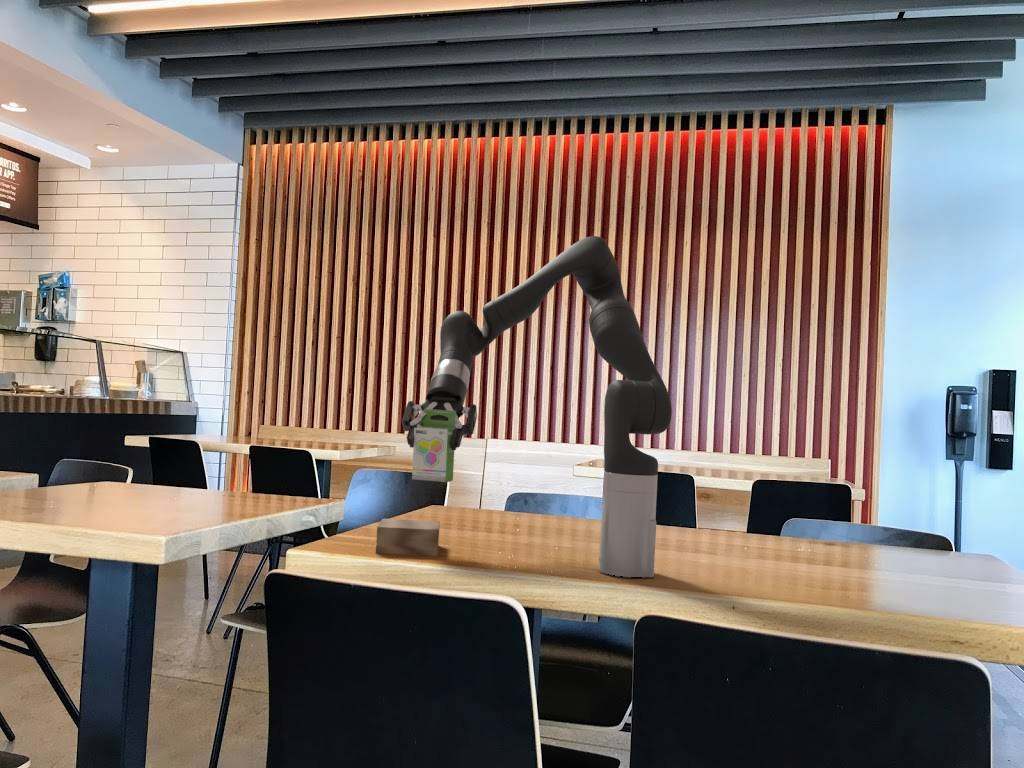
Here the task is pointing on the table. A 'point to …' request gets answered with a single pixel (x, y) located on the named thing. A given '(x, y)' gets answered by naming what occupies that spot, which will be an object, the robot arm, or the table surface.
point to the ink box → (434, 448)
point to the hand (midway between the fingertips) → (431, 445)
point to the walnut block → (408, 537)
